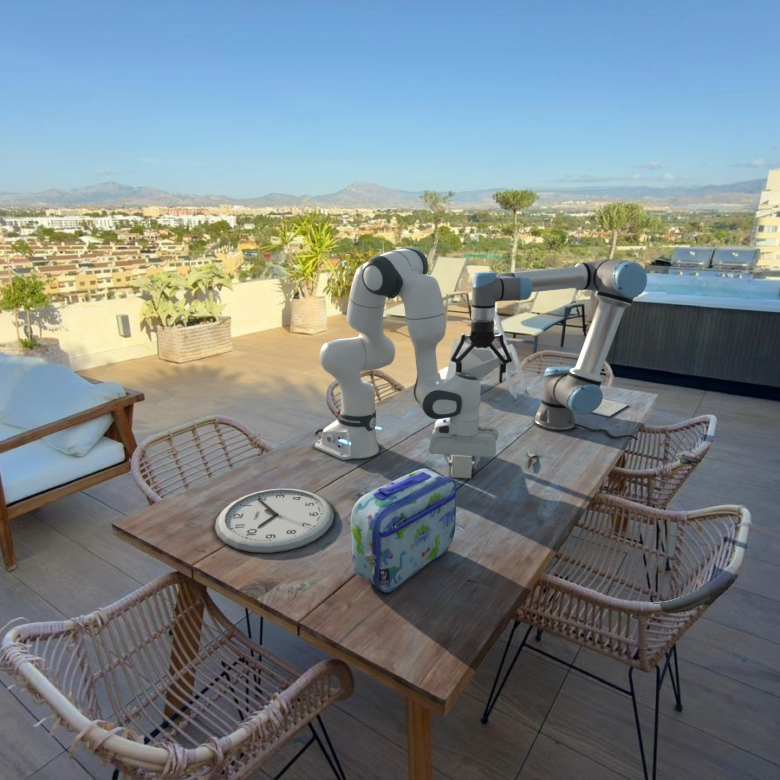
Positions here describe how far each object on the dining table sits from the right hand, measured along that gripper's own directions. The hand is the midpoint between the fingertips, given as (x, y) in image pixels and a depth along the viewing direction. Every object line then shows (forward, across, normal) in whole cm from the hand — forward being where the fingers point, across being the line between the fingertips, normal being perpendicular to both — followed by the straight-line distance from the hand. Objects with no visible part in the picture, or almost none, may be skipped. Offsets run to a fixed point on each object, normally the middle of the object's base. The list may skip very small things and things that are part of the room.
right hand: (480, 381), depth 179 cm
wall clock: (+21, +56, +57) cm, 83 cm away
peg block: (+23, +6, +16) cm, 28 cm away
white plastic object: (+24, -5, -61) cm, 66 cm away
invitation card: (+25, -56, -48) cm, 78 cm away
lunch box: (+22, +21, +73) cm, 79 cm away
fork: (+23, -16, +12) cm, 31 cm away
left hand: (+20, +7, +25) cm, 33 cm away
